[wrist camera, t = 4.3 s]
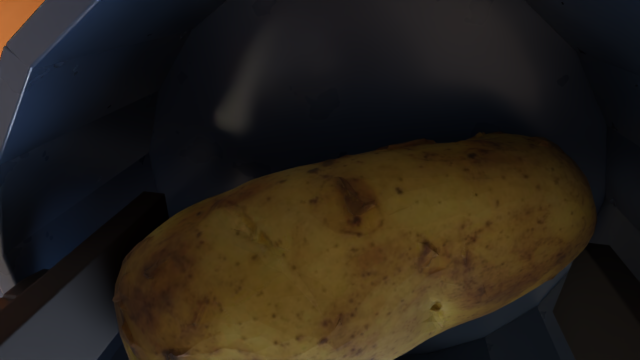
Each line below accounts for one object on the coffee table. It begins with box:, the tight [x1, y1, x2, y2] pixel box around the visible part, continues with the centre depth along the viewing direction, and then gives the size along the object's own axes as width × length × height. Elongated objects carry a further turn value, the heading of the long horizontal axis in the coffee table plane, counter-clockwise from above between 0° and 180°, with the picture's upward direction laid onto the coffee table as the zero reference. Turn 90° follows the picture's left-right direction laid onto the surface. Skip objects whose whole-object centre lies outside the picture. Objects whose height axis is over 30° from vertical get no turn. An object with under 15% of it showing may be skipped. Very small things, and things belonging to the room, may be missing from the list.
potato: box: [112, 132, 597, 360], centre depth 12 cm, size 8×13×8 cm, turn 88°
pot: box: [0, 0, 640, 360], centre depth 12 cm, size 18×23×7 cm
